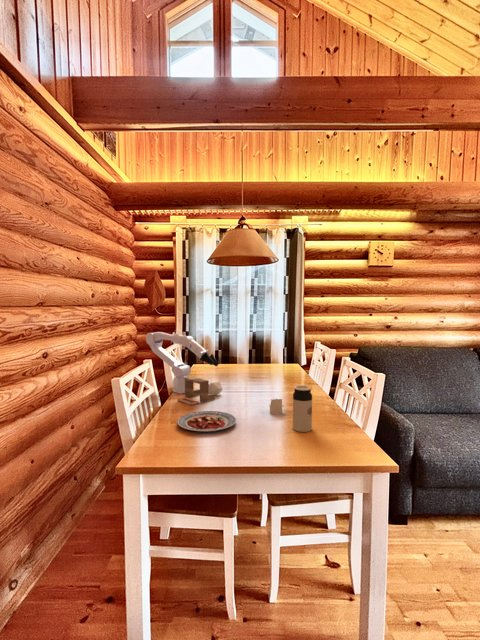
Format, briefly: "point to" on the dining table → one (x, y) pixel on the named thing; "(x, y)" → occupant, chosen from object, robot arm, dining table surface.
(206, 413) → the ceramic plate
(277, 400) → the architectural model
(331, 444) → the dining table surface
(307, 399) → the travel mug
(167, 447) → the dining table surface
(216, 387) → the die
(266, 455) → the dining table surface
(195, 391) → the tunnel lane
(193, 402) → the trap pit
